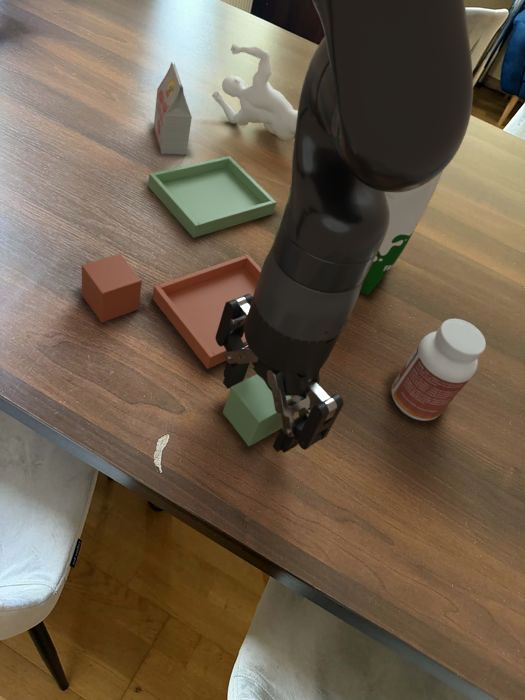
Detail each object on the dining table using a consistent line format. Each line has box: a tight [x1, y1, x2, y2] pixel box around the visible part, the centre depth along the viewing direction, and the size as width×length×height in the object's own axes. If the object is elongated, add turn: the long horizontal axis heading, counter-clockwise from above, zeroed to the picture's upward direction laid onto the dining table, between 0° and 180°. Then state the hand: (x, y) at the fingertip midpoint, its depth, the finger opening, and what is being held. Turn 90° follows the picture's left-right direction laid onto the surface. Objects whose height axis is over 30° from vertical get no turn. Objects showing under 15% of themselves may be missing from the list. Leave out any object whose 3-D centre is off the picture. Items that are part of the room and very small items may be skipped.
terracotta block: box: [81, 253, 143, 323], centre depth 61 cm, size 4×4×4 cm
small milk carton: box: [153, 61, 193, 156], centre depth 81 cm, size 4×7×10 cm, turn 16°
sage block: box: [222, 373, 292, 447], centre depth 56 cm, size 4×4×4 cm
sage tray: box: [147, 155, 277, 239], centre depth 78 cm, size 13×11×2 cm
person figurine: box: [211, 44, 298, 142], centre depth 88 cm, size 13×13×18 cm
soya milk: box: [360, 170, 444, 297], centre depth 69 cm, size 9×9×20 cm
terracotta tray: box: [152, 253, 262, 370], centre depth 65 cm, size 13×11×2 cm
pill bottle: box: [391, 318, 487, 422], centre depth 60 cm, size 6×6×11 cm
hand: (256, 413), depth 57 cm, fingers open, 8 cm apart
